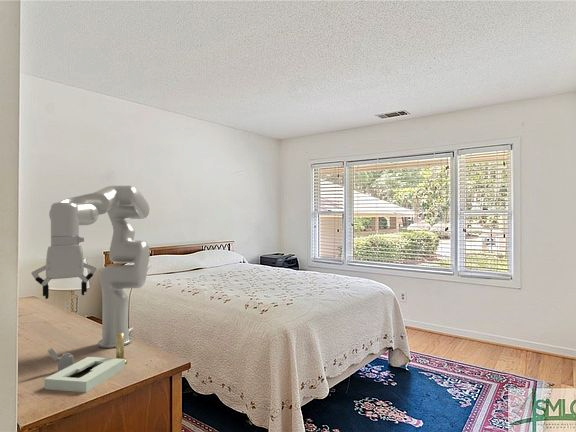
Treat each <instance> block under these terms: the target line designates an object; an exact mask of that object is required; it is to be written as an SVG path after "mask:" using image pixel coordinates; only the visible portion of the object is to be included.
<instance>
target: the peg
mask: <svg viewBox="0 0 576 432" xmlns="http://www.w3.org/2000/svg"><path fill="white" fill-rule="evenodd" d="M124 348H125V345H124V333H117V334H116V347H115V358H116V359H125V366H126V365H127V364H128V358H127V357H124V355H125V349H124Z"/></svg>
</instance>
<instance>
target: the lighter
mask: <svg viewBox="0 0 576 432" xmlns="http://www.w3.org/2000/svg"><path fill="white" fill-rule="evenodd" d="M47 352H48V354H49V355H50V357H51V358H52V360H53V362H56V361H58V362H57V363H58V365H57V369H58V370H57V372H59V371H61V370H63V369H65V368H67V367H69V366H71V365H73V364H74V355H73V354H71V353H69V352H65V353H62V354H61V356H60V357H58V355H57V353H56V351H55V350H54V349H53V347H50V348H49V349H47Z"/></svg>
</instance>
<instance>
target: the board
mask: <svg viewBox="0 0 576 432" xmlns="http://www.w3.org/2000/svg"><path fill="white" fill-rule="evenodd" d="M87 368H92V369H89V371H88V373H86V374H84V375H83V376H80V377H73V376H75V375H76V374H78V373H80V372H82V371H84V370H86V369H87ZM124 369H126V365H125V359H116V357H115V358H114V357H98V356H86V357H84V358H83V359H81V360H79V361H77V362H75V363H73V365H71V366H69V367H67V368H65V369H63V370H61V371H59V372H58V371H57V372H55V373H53V374H51V375H49V376H47V377H45V378H44V381H43V382H44V383H43V384H44V385H43V389H44V390H53V391H63V392H74V393H75V392H78V393H88V392H89V391H91V390H93V389H94V388H96V387H97V386H99V385H101V384H102V383H104V382H106V381H107V380H109V379H110V378H112V377H114V375H116V374H118V373H120V372H121V371H123V370H124Z"/></svg>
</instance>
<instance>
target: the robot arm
mask: <svg viewBox="0 0 576 432" xmlns="http://www.w3.org/2000/svg"><path fill="white" fill-rule="evenodd" d="M106 213H107V216H108V218H109V220H110V223H111V225H112V231H113V232H112V237H111V242H110V247H109V251H108V258H109V260H110V262H112V263H115V264H113V265H112V264H111V265H107V266H104V267H103V268H102V269H101V271H100V273H99V283H100V287H101V294H102V295H101V296H102V297H101V299H102V304H101V305H102V313H101V314H102V321H101V322H102V325H101V326H102V329H101V330H102V337H101V338H102V339H100V340H99V341H98V342H97V345H98V347H100V348H103V349H104V348H105V349H107V348H110V349H111V348H116V334H117V333H124V346H126V345H128V344H131V343H132V342H133V337H132V336H130V334H131V333H133V332H134V330H135V329H134V327H133V326H131V327H130V328H129V298H128V295H127V293H126V292H125V291H124V289H125V290H127V289H139V288H143V287H144V285H145V283H146V280H147V275H148V274H147V273H148V268H149V261H150V256H151V255H150V251H151V250H150V246H149V244H148V243H147V242H146V241H144V240H135V232H136V231H135V229H134V227H133V225H132V224H131V223H130V222H129V221H128V220H141V219H142V220H144V219H146V218H147V217H148V216H149V214H150V205H149V203H148V201H147V199H146V198H145V197H144V195H143V194H142V192H141V191H140V190H139V189H138V188H137V187H135V186H133V185H109V186H106V187H103V188H101V189H100V190H99V189H98V190H97V191H94V192H91V193H86V194H82V195H77V196H73V197H68V198H66V199H62V200H60V201H58V202H53V203H52V204H51V206H50V209H49V215H48V216H49V220H50V246H48V247H47V250H46V258H45V259H46V260H45V265H43V266H41V267H39V268H37V269H35V270H33V271H32V272H31V275H32V277H33V278H34V280H35V281H36V282H37V283H38V284H39V285H41V286H42V296H43V297H44V299H45V300H47V299H49V297H50V296H49V295H50V293H49V292H50V291H49V287H50V286H49V284H48V283H49V282H50V281H51V280H58V279H72V278H73V279H74V278H80V280H81V284H80V285H81V287H80V288H81V291H80V292H81V295H82V296H85V293H87V292H88V291H87V290H88V287H87V285H88V284H87V283H88V281H89V280H91V278H92V277H94V274H95V272H96V270H97V267H95V266H93V265H91V264H89V263H88V264H87V263H86V262H84V253H83V248H82V244H81V245H79V244H80V243H83V242H85V238H84V237H82V236H80V234H79V233H80V226H90V225H93V224H94V223H96V221H97V220H98V219H99V215H103V214H106ZM84 269H88V270H89V273H88V274H87V275H86V276H85V275H84V271H85V270H84ZM44 271H45V278H42V277H40V275H39V274H41V273H42V272H44Z"/></svg>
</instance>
